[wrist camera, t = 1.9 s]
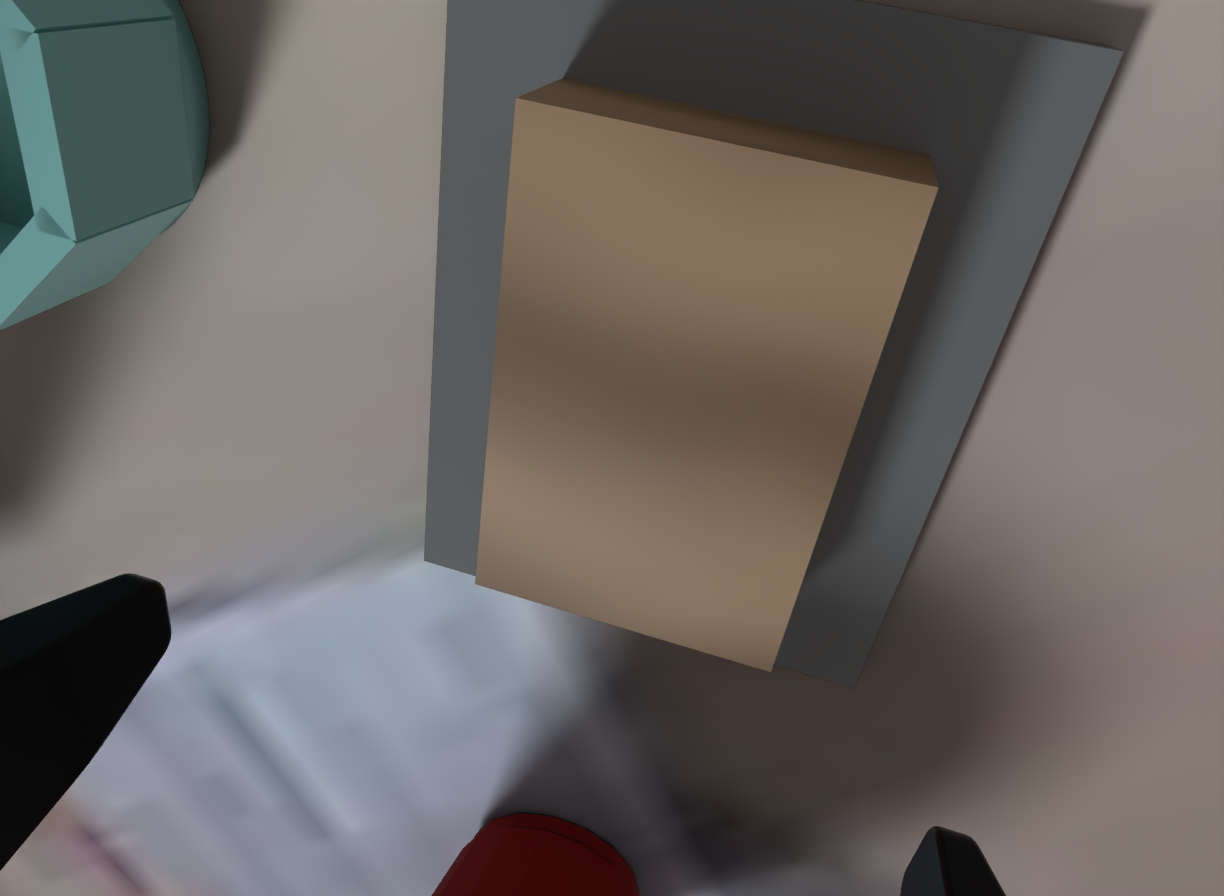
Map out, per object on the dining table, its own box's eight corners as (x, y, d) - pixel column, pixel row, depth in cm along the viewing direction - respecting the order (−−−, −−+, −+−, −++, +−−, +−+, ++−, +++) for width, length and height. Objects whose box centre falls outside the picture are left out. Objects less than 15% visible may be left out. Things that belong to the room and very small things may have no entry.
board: (781, 599, 20) (770, 672, 18) (513, 522, 21) (474, 583, 19) (929, 153, 15) (938, 187, 13) (562, 78, 16) (515, 98, 13)
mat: (854, 671, 21) (853, 688, 21) (433, 546, 23) (423, 560, 22) (1114, 47, 14) (1124, 51, 13) (464, -72, 15) (450, -73, 15)
